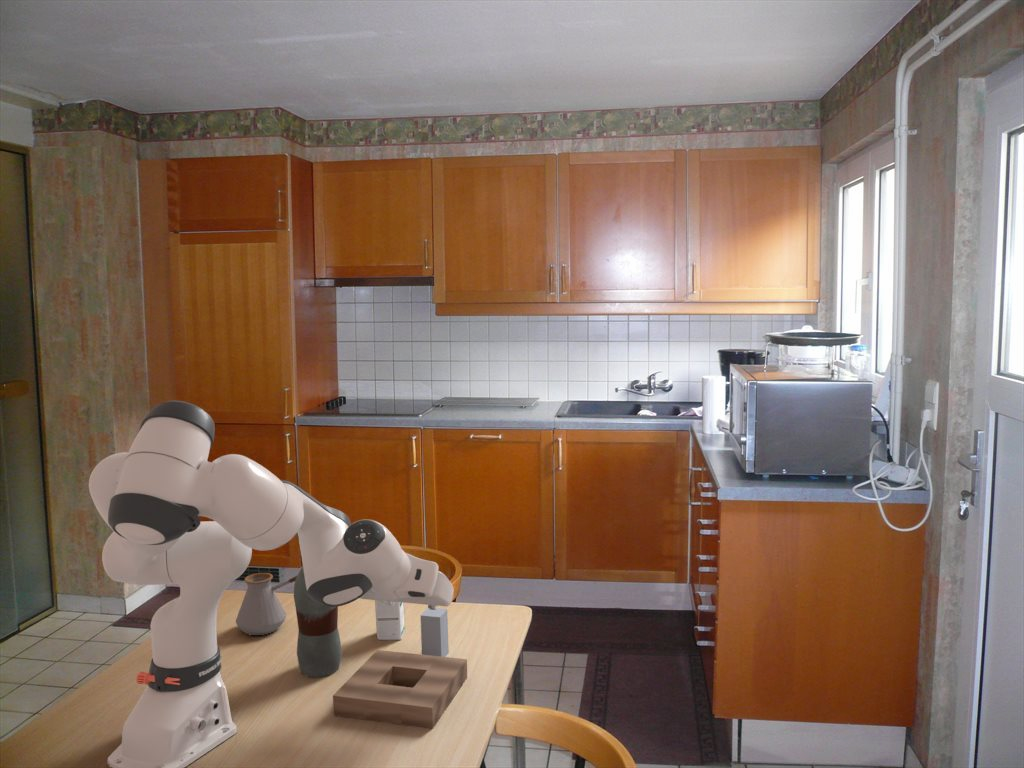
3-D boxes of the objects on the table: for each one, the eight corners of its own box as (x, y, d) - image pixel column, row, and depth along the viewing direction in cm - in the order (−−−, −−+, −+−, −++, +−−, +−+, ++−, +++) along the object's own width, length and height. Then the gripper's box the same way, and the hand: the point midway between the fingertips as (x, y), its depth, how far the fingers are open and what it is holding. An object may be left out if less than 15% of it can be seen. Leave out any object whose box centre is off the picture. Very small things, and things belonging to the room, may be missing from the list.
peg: (441, 661, 177) (440, 617, 176) (422, 659, 179) (420, 615, 177) (448, 652, 182) (447, 609, 181) (429, 650, 183) (428, 607, 182)
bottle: (288, 673, 173) (280, 535, 170) (316, 655, 182) (309, 523, 178) (324, 682, 169) (317, 540, 166) (351, 663, 178) (344, 528, 174)
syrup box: (401, 640, 189) (399, 579, 187) (376, 640, 189) (373, 579, 187) (405, 629, 194) (403, 570, 193) (380, 630, 194) (377, 570, 193)
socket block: (433, 728, 151) (432, 707, 150) (333, 715, 156) (332, 695, 156) (467, 677, 170) (466, 659, 169) (378, 667, 175) (377, 649, 175)
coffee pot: (231, 641, 190) (227, 578, 188) (242, 620, 202) (239, 561, 200) (324, 635, 192) (321, 573, 190) (331, 616, 203) (328, 557, 201)
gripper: (336, 586, 157) (361, 614, 167) (437, 594, 151) (456, 623, 162) (346, 555, 161) (369, 585, 171) (444, 563, 155) (463, 593, 166)
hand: (412, 604), depth 167 cm, fingers open, 8 cm apart
